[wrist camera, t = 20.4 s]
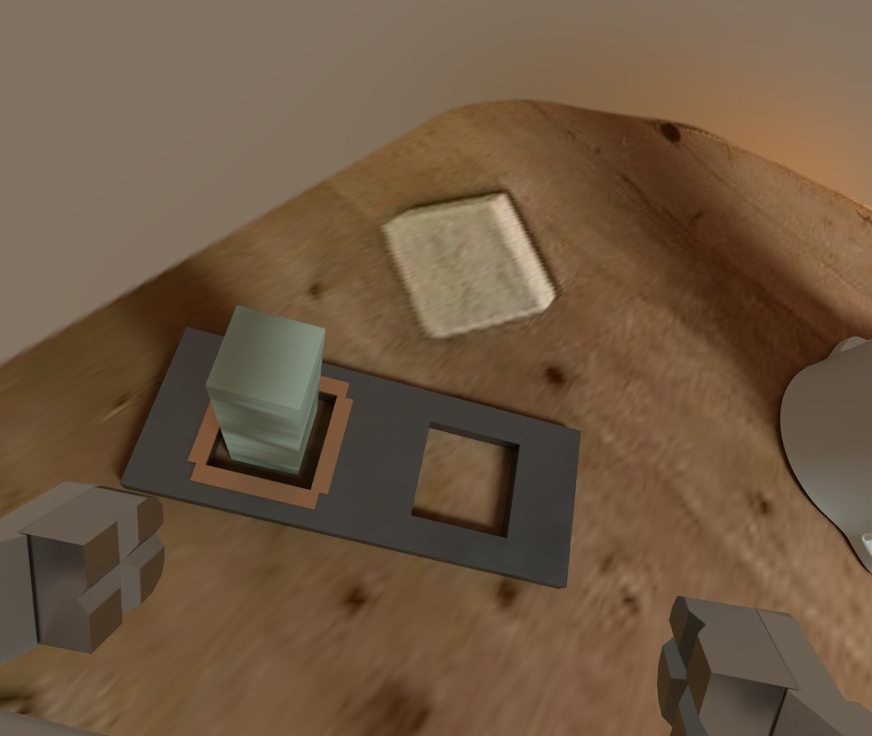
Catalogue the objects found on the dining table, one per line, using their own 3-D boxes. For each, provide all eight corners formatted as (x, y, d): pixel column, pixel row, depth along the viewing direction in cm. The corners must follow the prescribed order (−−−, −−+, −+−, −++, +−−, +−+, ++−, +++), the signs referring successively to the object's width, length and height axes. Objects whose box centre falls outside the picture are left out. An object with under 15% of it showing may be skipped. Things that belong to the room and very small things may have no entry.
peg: (316, 414, 38) (325, 328, 27) (297, 475, 36) (300, 409, 26) (253, 398, 38) (236, 304, 27) (231, 459, 36) (205, 385, 25)
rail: (573, 436, 41) (582, 429, 40) (558, 588, 37) (568, 587, 36) (189, 335, 38) (185, 324, 37) (124, 488, 34) (118, 482, 33)
